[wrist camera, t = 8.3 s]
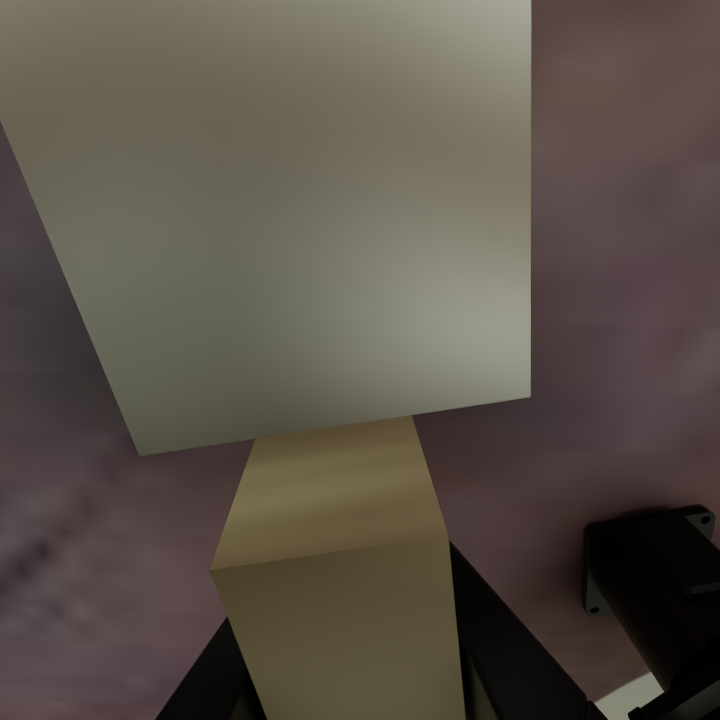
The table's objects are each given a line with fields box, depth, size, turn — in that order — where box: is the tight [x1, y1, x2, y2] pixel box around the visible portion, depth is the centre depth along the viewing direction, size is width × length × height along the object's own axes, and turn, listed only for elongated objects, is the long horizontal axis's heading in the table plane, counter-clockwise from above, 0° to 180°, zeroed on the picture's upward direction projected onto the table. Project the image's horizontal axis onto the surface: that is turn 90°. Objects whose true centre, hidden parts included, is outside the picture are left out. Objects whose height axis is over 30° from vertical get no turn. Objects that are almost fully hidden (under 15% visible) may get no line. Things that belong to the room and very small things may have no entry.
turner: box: [0, 0, 531, 720], centre depth 7 cm, size 21×7×4 cm, turn 9°
